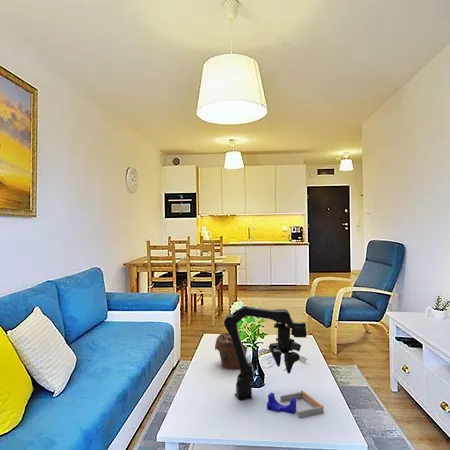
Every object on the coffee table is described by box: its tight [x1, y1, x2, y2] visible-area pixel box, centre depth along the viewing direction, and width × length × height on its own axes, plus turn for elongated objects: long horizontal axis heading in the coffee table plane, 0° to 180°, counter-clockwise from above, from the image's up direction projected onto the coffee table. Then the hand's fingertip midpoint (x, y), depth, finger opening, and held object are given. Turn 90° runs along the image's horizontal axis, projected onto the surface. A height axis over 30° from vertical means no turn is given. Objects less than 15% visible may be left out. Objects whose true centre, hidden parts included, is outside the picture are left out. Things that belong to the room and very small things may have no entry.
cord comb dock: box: [279, 389, 325, 419], centre depth 180 cm, size 12×17×3 cm
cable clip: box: [266, 392, 297, 415], centre depth 177 cm, size 12×4×6 cm, turn 60°
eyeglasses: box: [267, 355, 308, 372], centre depth 233 cm, size 15×18×4 cm
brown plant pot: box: [214, 332, 248, 370], centre depth 232 cm, size 18×20×18 cm
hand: (283, 369), depth 189 cm, fingers open, 9 cm apart
